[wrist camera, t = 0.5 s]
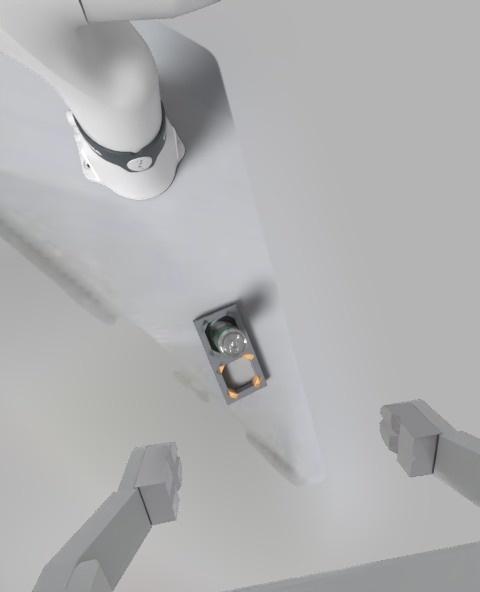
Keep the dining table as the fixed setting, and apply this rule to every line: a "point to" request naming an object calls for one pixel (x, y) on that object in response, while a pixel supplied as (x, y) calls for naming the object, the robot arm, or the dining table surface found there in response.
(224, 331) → the soda can
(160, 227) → the dining table surface
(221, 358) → the socket board
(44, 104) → the dining table surface
